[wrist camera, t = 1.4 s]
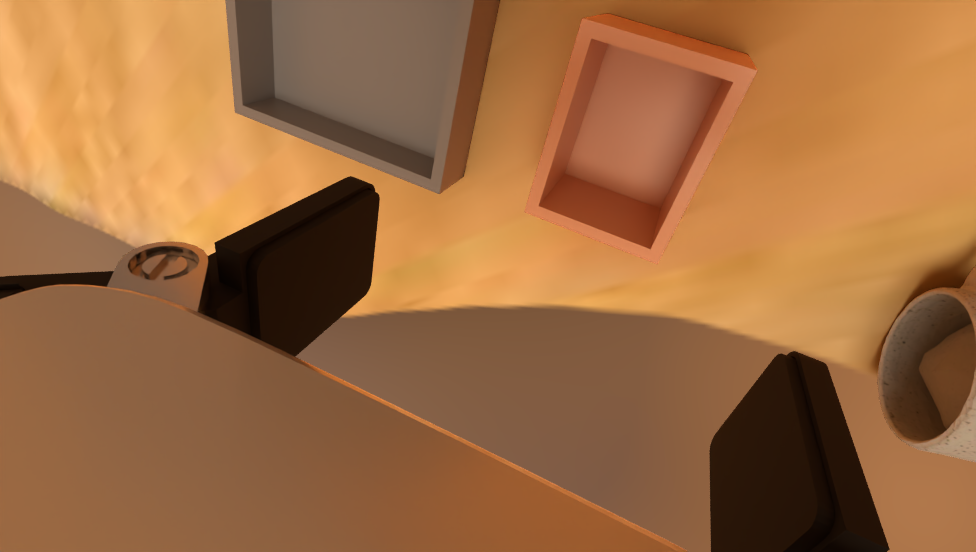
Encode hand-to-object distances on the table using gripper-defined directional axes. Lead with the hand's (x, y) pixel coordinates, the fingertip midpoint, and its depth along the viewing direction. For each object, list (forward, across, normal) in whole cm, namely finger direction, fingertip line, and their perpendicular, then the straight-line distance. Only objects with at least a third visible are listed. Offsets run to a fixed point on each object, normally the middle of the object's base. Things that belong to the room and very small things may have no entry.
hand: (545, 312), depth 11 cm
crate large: (+19, +17, 0) cm, 26 cm away
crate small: (+19, 0, 0) cm, 19 cm away
